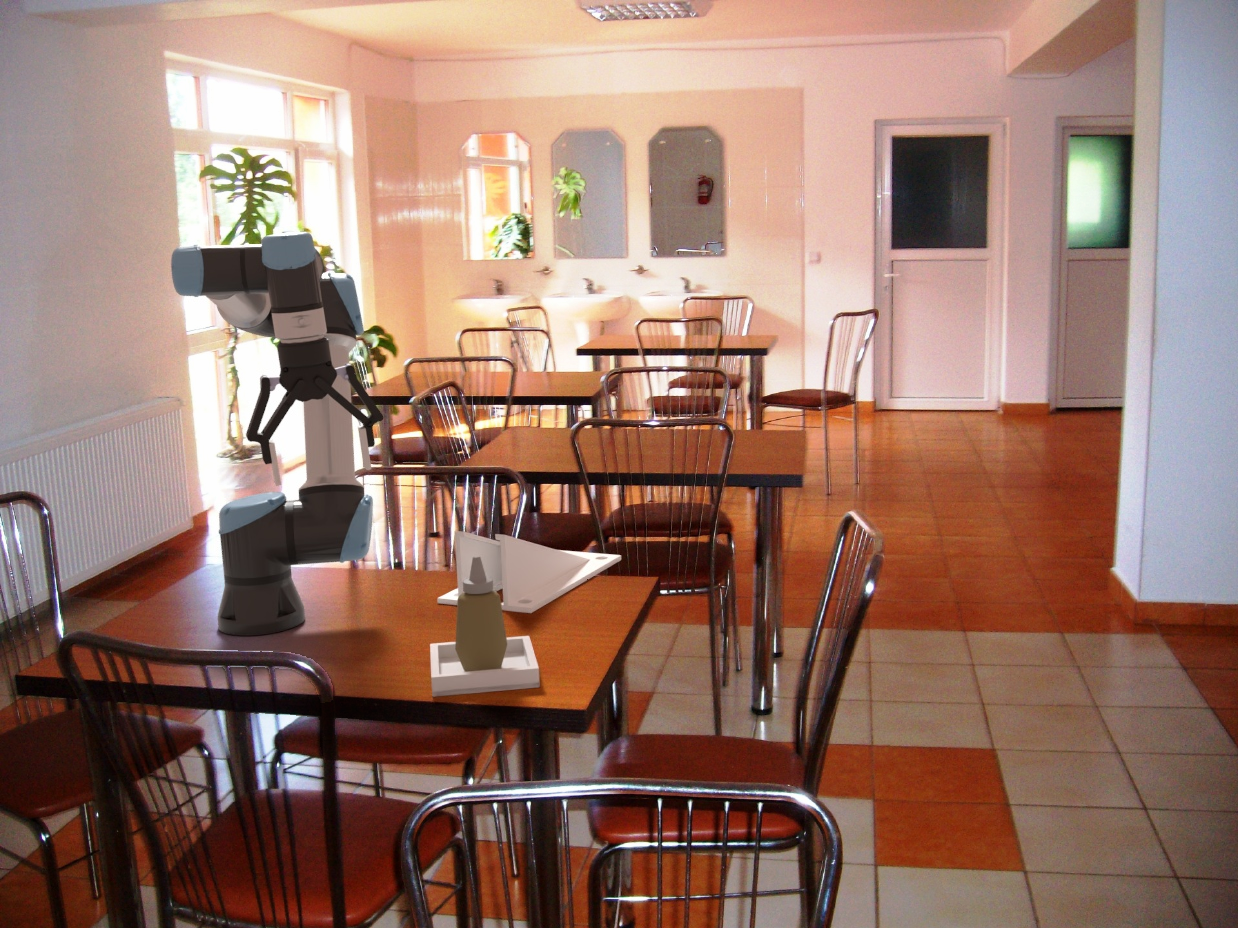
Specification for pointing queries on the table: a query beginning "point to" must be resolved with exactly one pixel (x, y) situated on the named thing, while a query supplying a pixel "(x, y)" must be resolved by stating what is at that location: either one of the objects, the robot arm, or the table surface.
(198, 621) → the table surface
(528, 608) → the white bracket
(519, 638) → the tray
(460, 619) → the squeeze bottle
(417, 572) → the table surface
